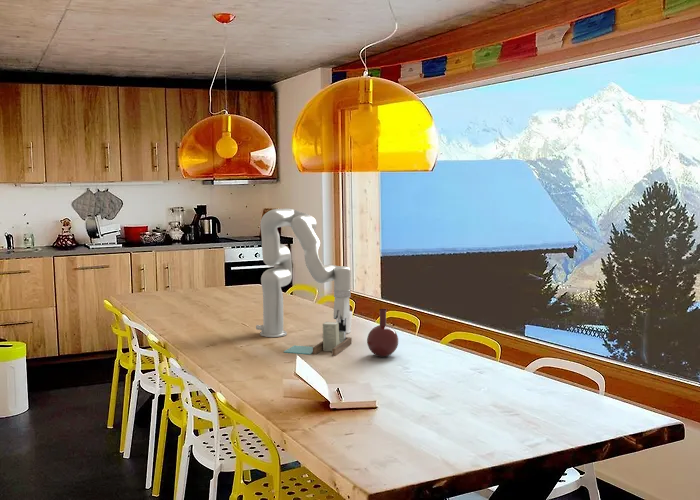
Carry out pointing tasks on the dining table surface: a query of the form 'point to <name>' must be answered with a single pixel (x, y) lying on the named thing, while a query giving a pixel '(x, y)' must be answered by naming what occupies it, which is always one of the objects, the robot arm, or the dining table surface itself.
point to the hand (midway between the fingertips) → (342, 333)
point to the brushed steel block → (342, 336)
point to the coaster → (300, 350)
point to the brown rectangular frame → (335, 350)
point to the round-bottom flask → (382, 338)
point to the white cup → (348, 322)
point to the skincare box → (330, 335)
